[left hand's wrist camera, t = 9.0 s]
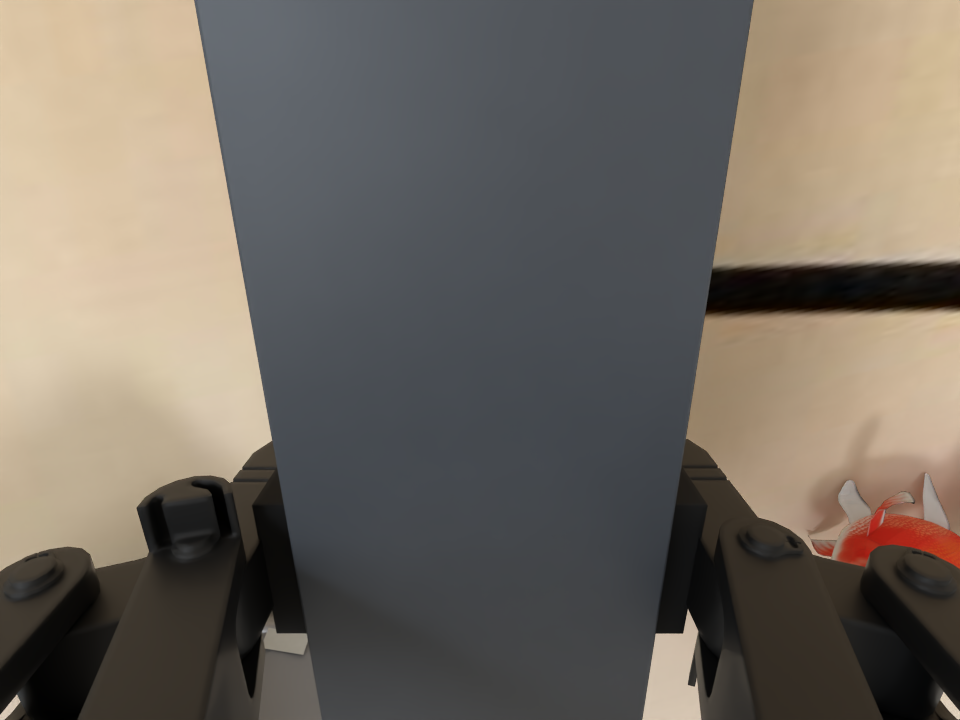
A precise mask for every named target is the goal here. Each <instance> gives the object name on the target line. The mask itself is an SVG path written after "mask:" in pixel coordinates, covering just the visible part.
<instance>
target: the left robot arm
mask: <svg viewBox="0 0 960 720" xmlns="http://www.w3.org/2000/svg"><path fill="white" fill-rule="evenodd" d="M242 468H243V469H242V470H240V471H239V472H238V474H237V475H236V476H235V478H234V479H233V482H231V483H229V482H228V481H226V480H225V479H224V478H220V477H215V476H194V477H190V478H186V479H182V480H178V481H175V482H172V483H170V484H168V485H165V486H163V487H161V488H159V489H157V490H156V491H154V492H153V493H151V494H150V495H148V496H147V497H145V498H144V500H143V501H142V502H141V503H140V504H139V505H138V507H137V511H138V515H139V518H140V521H141V525H142V528H143V532H144V535H145V539H146V542H147V545H148V549H149V554H148V556H147V557H146V558H142V559H138V560H135V561H130V562H125V563H121V564H116V565H111V566H107V567H102V568H97V569H95V568H94V565H93V562H92V559H91V556H90V554H89V553H87V552H86V551H85V550H83V549H82V548H74V547H63V548H56V549H49V550H46V551H42V552H39V553H35V554H33V555H30V556H27V557H25V558H23V559H22V560H20V561H18V562H16V563H14V564H12V565H10V566H8V567H6V568H5V569H3V570H2V571H1V572H0V714H1V713H2V712H3V711H4V709H5V708H6V707H7V706H8V704H9V703H10V702H11V701H12V700H13V698H14V697H15V696H16V695H18V697H19V699H20V701H21V702H20V703H19V705H18V706H17V707H16V708H15V710H14V711H13V712H12V713H11V714H10V715H9V716H8V717H7V718H6V719H5V720H322V718H321V712H320V706H319V701H318V695H317V689H316V684H315V678H314V673H313V667H312V661H311V656H310V650H309V644H308V639H307V633H306V627H305V622H304V616H303V610H302V605H301V599H300V594H299V588H298V582H297V577H296V571H295V565H294V560H293V554H292V548H291V543H290V537H289V531H288V526H287V520H286V515H285V509H284V503H283V498H282V492H281V486H280V481H279V475H278V469H277V464H276V458H275V453H274V447H273V441H271V442H270V443H268V444H267V445H265V446H264V447H262V448H260V449H259V450H257V451H256V452H254V453H253V454H252V456H251V457H250V458H249V460H248V461H247V462H246V463H245V465H244V466H243V467H242ZM688 609H689V612H690V614H691V616H692V618H693V620H694V622H695V625H696V627H697V629H698V635H697V640H696V645H695V650H694V655H693V660H692V664H691V669H690V674H689V681H688V685H690V686H694V687H695V683H696V679H697V682H698V691H699V701H700V710H701V720H958V719H956V718H955V717H954V716H953V715H952V714H951V713H950V712H949V711H948V709H947V708H946V707H945V706H944V704H943V703H942V702H941V701H940V698H941V696H942V694H943V692H945V694H946V695H947V696H948V697H949V699H950V700H951V701H952V702H953V703H954V705H955V706H956V707H957V708H958V709H959V711H960V569H959V568H958V567H956V566H955V565H953V564H951V563H949V562H947V561H945V560H943V559H941V558H939V557H937V556H936V555H934V554H932V553H929V552H926V551H922V550H920V549H916V548H912V547H907V546H900V545H884V546H878V547H877V548H875V549H874V550H873V551H871V552H870V555H869V557H868V560H867V563H866V566H865V567H864V566H859V565H854V564H850V563H845V562H840V561H836V560H831V559H826V558H822V557H819V556H815V555H812V553H811V551H810V549H809V548H808V547H807V545H806V544H805V542H804V541H803V540H802V539H801V538H800V537H798V536H797V535H796V534H794V533H793V532H792V531H791V530H789V529H787V528H785V527H783V526H781V525H779V524H777V523H775V522H772V521H769V520H765V519H761V518H758V517H757V516H756V514H755V513H754V512H753V511H752V509H751V508H750V507H749V505H748V504H747V503H746V502H745V500H744V499H743V498H742V496H741V495H740V494H739V493H738V491H737V490H736V489H735V487H734V486H733V485H732V484H731V482H730V481H729V480H727V477H726V476H725V475H724V473H723V472H722V471H721V469H720V468H718V467H717V464H716V463H715V462H714V460H713V459H712V458H711V457H710V455H709V454H708V453H707V451H705V450H704V449H702V448H700V447H699V446H697V445H696V444H694V443H693V442H691V441H690V440H688V439H686V440H685V447H684V453H683V459H682V466H681V472H680V479H679V485H678V492H677V498H676V505H675V511H674V518H673V524H672V530H671V537H670V543H669V550H668V556H667V563H666V569H665V576H664V582H663V589H662V595H661V601H660V608H659V614H658V621H657V627H656V633H683V631H684V626H685V621H686V615H687V610H688ZM959 720H960V719H959Z"/></svg>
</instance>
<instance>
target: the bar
mask: <svg viewBox="0 0 960 720" xmlns="http://www.w3.org/2000/svg"><path fill="white" fill-rule="evenodd" d="M194 1H195V7H196V13H197V18H198V24H199V29H200V35H201V41H202V46H203V52H204V58H205V63H206V69H207V75H208V80H209V86H210V92H211V97H212V103H213V108H214V114H215V120H216V125H217V131H218V137H219V142H220V148H221V154H222V159H223V165H224V170H225V176H226V182H227V187H228V193H229V199H230V204H231V210H232V216H233V221H234V227H235V233H236V238H237V244H238V249H239V255H240V261H241V266H242V272H243V278H244V283H245V289H246V295H247V300H248V306H249V312H250V317H251V323H252V328H253V334H254V340H255V345H256V351H257V357H258V362H259V368H260V374H261V379H262V385H263V390H264V396H265V402H266V407H267V413H268V419H269V424H270V430H271V436H272V441H273V447H274V453H275V458H276V464H277V469H278V475H279V481H280V486H281V492H282V498H283V503H284V509H285V515H286V520H287V526H288V531H289V537H290V543H291V548H292V554H293V560H294V565H295V571H296V577H297V582H298V588H299V594H300V599H301V605H302V610H303V616H304V622H305V627H306V633H307V639H308V644H309V650H310V656H311V661H312V667H313V673H314V678H315V684H316V689H317V695H318V701H319V706H320V712H321V718H322V720H642V718H643V711H644V705H645V698H646V692H647V685H648V679H649V672H650V666H651V659H652V653H653V647H654V640H655V634H656V627H657V621H658V614H659V608H660V601H661V595H662V589H663V582H664V576H665V569H666V563H667V556H668V550H669V543H670V537H671V530H672V524H673V518H674V511H675V505H676V498H677V492H678V485H679V479H680V472H681V466H682V459H683V453H684V447H685V440H686V434H687V427H688V421H689V414H690V408H691V401H692V395H693V389H694V382H695V376H696V369H697V363H698V356H699V350H700V343H701V337H702V330H703V324H704V318H705V311H706V305H707V298H708V292H709V285H710V279H711V272H712V266H713V260H714V253H715V247H716V240H717V234H718V227H719V221H720V214H721V208H722V201H723V195H724V189H725V182H726V176H727V169H728V163H729V156H730V150H731V143H732V137H733V130H734V124H735V118H736V111H737V105H738V98H739V92H740V85H741V79H742V72H743V66H744V60H745V53H746V47H747V40H748V34H749V27H750V21H751V14H752V8H753V1H754V0H194Z"/></svg>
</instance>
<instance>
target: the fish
mask: <svg viewBox="0 0 960 720" xmlns="http://www.w3.org/2000/svg"><path fill="white" fill-rule="evenodd" d="M838 501H839V503H840V505H841V507H842V508H843V510H844V511H845V512H846V514H847V516H848V519H849V523H850V524H849V525H848V526H846V527H845V528H844V529H843V530H842V532H841V533H840V535H839V537H838V539H837V540H811V542H812V544H813V547H814V549H815V550H816V552H817V553H818V554H820V555H823V556H829V557H832V558H831V560H836V561H840V562H845V563H850V564H854V565H859V566H864V567H865V566H866V563H867V560H868V557H869V555H870V552H871V551H873V550H874V549H875V548H877V547H878V546H884V545H900V546H907V547H912V548H916V549H920V550H922V551H926V552H929V553H932V554H934V555H936V556H937V557H939V558H941V559H943V560H945V561H947V562H949V563H951V564H953V565H955V566H956V567H958V568H959V569H960V537H959V536H958V535H957V534H955V533H953V532H952V531H950V525H949V522H948V519H947V516H946V514H945V512H944V510H943V508H942V506H941V503H940V501H939V499H938V496H937V494H936V492H935V489H934V486H933V484H932V481H931V478H930V476H929V475H928V474H927V473H925V478H924V488H923V506H924V520H922V519H918V518H914V517H910V516H905V515H899V514H885V512H886V509H887V508H889V507H890V506H892V505H895V504H900V503H905V502H908V503H913V504H914V503H915V500H914V498H913V497H912V495H911V494H910V493H909V492H905V491H903V492H900V493H898V494H897V495H895V496H893V497H891V498H889V499H887V500H885V501H884V502H883V504H882V505H881V506H880V507H879V508H878V509H877V511H876V513H875V514H872V515H871V510H870V507H869V506H868V505H867V504H866V502H865V501H864V500H863V499H862V497H861V496H860V494H859V492H858V490H857V488H856V485H855V482H854V481H852V480H848V481H846V482H845V484H844V485H843V487H842V489H841V491H840V493H839V494H838ZM809 538H810V537H809Z"/></svg>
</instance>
